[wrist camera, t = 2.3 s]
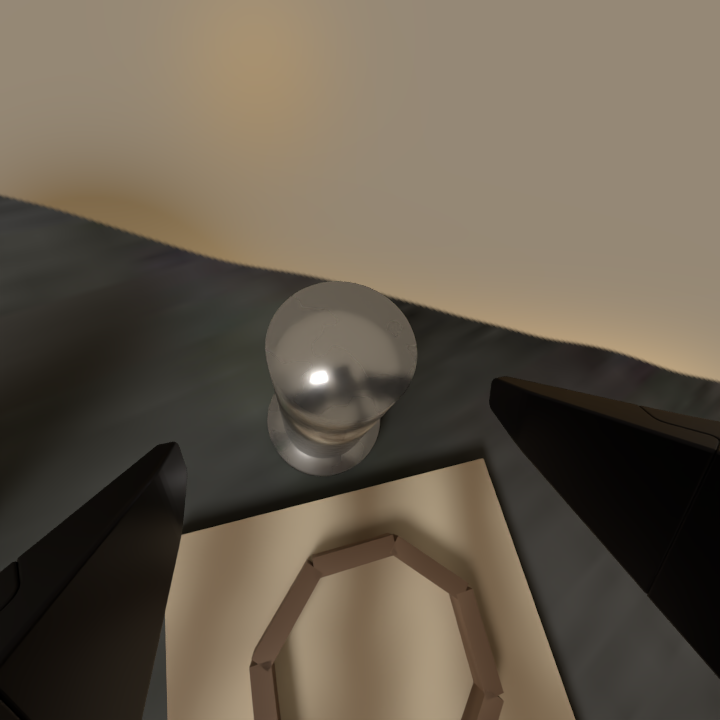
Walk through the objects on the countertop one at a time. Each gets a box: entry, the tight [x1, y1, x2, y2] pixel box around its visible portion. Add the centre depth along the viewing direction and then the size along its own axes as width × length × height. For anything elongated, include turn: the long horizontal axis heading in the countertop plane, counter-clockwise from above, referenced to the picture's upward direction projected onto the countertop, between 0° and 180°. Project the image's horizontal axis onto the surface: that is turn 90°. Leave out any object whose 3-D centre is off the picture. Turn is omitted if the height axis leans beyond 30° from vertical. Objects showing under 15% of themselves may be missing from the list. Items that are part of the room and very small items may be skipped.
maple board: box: [165, 458, 575, 720], centre depth 14 cm, size 16×14×2 cm
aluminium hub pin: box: [265, 281, 417, 477], centre depth 14 cm, size 6×6×10 cm
